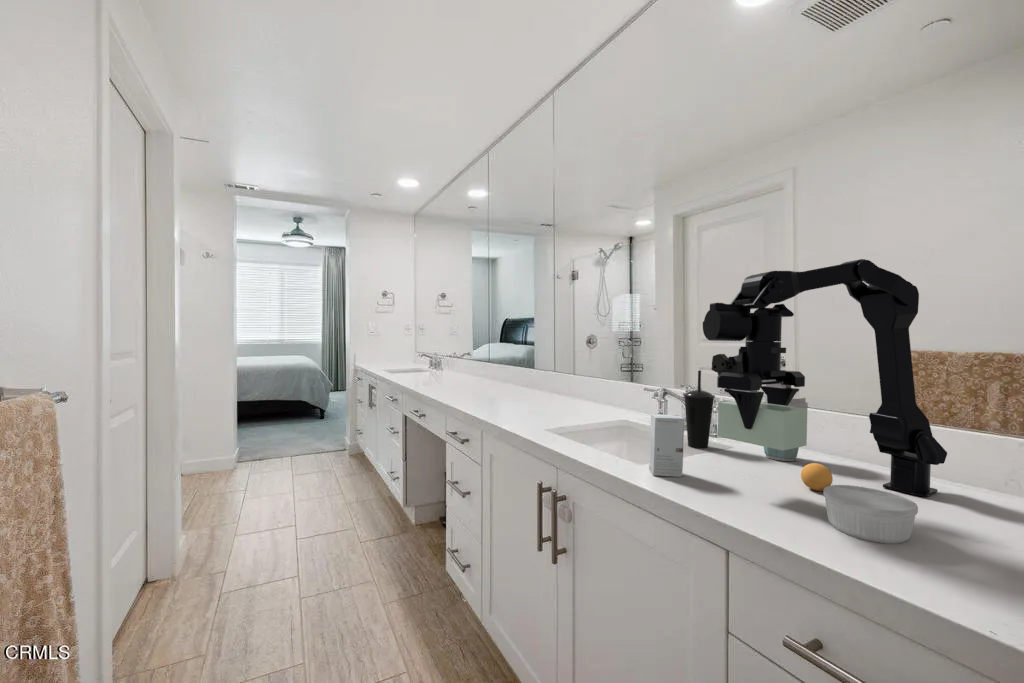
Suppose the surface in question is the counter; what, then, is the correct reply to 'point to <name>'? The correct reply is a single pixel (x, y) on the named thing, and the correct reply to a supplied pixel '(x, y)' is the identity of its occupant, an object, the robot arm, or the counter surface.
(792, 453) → the disposable coffee cup
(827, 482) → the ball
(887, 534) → the ramekin
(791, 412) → the sage green rectangular block
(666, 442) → the skincare box
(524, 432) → the counter surface
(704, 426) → the drinking cup
